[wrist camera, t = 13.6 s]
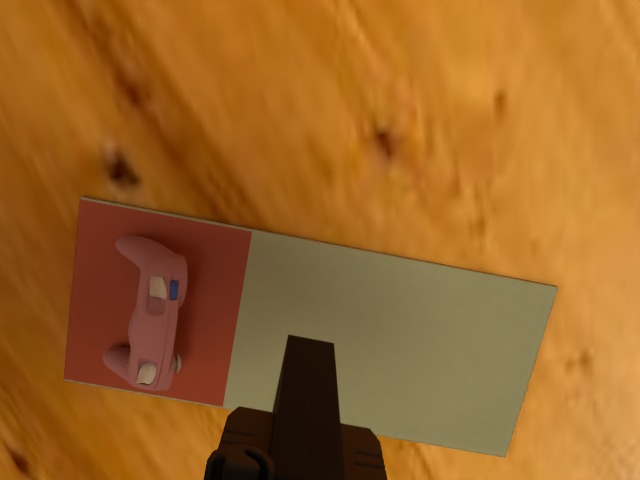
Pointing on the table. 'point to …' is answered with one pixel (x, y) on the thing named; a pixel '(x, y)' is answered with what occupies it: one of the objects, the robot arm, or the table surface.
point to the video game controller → (151, 316)
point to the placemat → (316, 325)
